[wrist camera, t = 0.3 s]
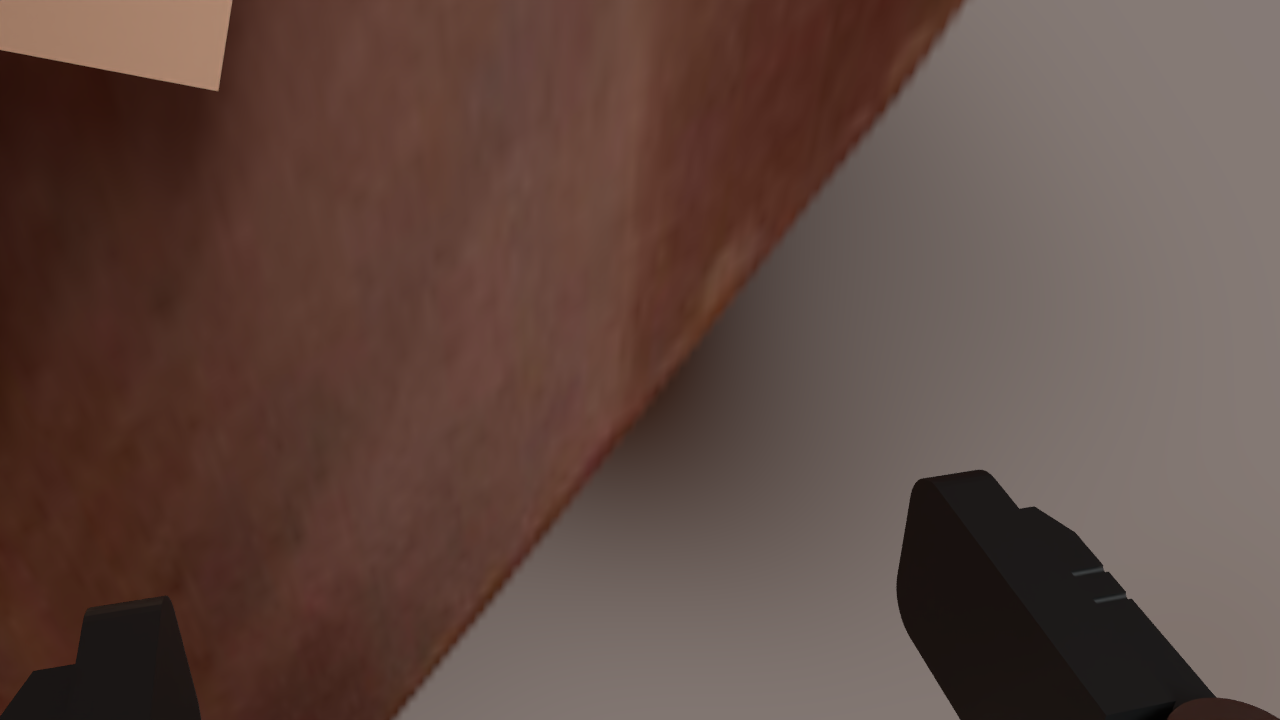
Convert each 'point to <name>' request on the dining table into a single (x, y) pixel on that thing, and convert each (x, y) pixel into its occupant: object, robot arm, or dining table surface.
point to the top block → (123, 36)
